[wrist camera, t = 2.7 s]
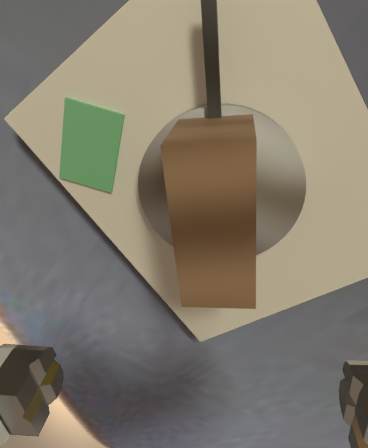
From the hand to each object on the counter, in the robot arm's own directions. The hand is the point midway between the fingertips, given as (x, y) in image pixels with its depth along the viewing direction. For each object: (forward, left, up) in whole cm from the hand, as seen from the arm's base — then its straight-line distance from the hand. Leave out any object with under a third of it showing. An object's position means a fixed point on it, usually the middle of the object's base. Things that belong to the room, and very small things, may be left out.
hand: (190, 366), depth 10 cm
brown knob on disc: (+2, -1, -14) cm, 14 cm away
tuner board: (0, 0, -16) cm, 16 cm away
